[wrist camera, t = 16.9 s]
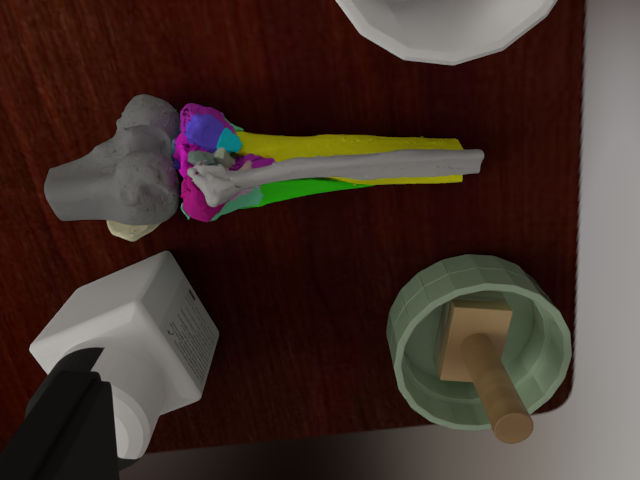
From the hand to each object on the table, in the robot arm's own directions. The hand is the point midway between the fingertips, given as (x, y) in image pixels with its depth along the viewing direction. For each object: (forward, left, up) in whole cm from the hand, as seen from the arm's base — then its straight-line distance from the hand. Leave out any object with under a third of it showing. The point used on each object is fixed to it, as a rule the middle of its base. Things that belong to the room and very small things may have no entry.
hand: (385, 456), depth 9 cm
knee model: (+3, -4, -28) cm, 29 cm away
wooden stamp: (+14, +11, -28) cm, 33 cm away
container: (+15, -12, -28) cm, 34 cm away
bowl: (+14, +11, -28) cm, 33 cm away
